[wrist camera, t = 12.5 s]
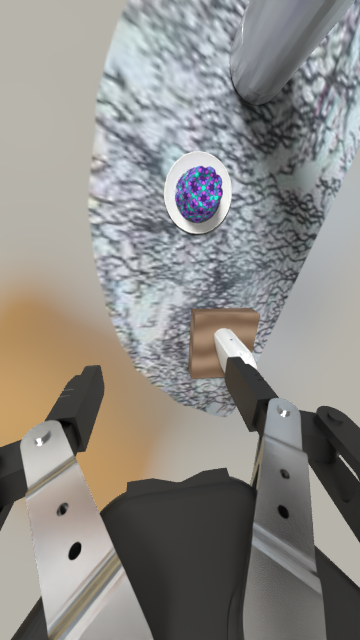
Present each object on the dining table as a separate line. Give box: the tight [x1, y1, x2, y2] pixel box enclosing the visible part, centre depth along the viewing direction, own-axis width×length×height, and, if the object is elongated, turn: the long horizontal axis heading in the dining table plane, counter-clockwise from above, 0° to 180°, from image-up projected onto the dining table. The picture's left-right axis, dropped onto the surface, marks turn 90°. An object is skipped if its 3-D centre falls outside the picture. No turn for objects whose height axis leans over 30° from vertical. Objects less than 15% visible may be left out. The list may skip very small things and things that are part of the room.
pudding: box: [164, 151, 232, 234], centre depth 30 cm, size 12×12×5 cm
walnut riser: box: [188, 308, 260, 379], centre depth 42 cm, size 16×14×4 cm
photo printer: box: [214, 328, 258, 373], centre depth 35 cm, size 10×4×12 cm, turn 16°
